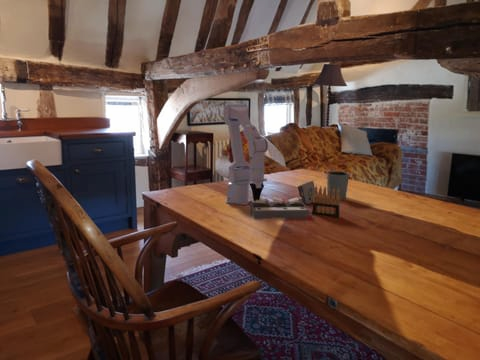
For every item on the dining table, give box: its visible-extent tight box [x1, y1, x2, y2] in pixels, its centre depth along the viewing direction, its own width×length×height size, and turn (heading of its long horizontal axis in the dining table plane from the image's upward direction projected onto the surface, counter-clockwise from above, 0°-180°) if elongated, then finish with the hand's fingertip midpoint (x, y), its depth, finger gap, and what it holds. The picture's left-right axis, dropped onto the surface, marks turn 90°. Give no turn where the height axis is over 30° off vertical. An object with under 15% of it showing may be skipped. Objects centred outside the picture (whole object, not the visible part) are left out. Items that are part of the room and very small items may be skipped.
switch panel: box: [250, 201, 310, 219], centre depth 149 cm, size 22×12×4 cm, turn 94°
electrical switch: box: [297, 180, 316, 205], centre depth 166 cm, size 9×5×9 cm, turn 141°
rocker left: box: [254, 197, 270, 204], centre depth 150 cm, size 5×3×2 cm, turn 95°
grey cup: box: [326, 170, 350, 201], centre depth 172 cm, size 10×10×12 cm
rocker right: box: [287, 196, 303, 204], centre depth 151 cm, size 5×3×2 cm, turn 93°
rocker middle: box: [271, 196, 287, 204], centre depth 150 cm, size 5×3×2 cm, turn 96°
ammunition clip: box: [311, 185, 341, 219], centre depth 146 cm, size 11×2×12 cm, turn 70°
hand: (256, 201), depth 149 cm, fingers closed, pressing on rocker left
